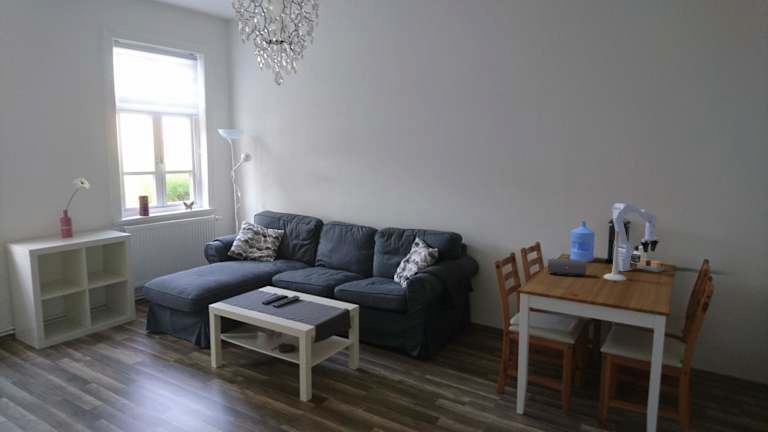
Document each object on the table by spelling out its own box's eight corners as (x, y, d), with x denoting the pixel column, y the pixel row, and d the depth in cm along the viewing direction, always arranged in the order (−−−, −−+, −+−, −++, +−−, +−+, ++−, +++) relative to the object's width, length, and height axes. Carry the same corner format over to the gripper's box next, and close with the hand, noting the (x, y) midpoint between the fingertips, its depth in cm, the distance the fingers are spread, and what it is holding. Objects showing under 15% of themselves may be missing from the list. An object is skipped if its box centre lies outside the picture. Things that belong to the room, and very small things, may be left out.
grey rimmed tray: (663, 270, 320) (664, 261, 319) (657, 272, 316) (657, 263, 316) (643, 266, 332) (643, 257, 331) (636, 267, 328) (637, 259, 328)
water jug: (577, 256, 366) (578, 219, 362) (597, 259, 354) (599, 221, 351) (566, 259, 356) (567, 221, 353) (586, 263, 344) (588, 223, 341)
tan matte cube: (660, 269, 320) (660, 261, 319) (656, 269, 318) (656, 262, 317) (653, 267, 324) (653, 260, 323) (649, 268, 322) (650, 261, 321)
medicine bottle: (630, 262, 345) (631, 245, 343) (637, 261, 348) (637, 244, 347) (639, 264, 339) (640, 247, 337) (646, 263, 342) (647, 246, 340)
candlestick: (629, 281, 295) (631, 231, 291) (606, 280, 298) (608, 231, 294) (623, 276, 308) (625, 228, 304) (601, 275, 310) (603, 228, 306)
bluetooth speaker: (547, 275, 312) (548, 259, 311) (547, 271, 321) (548, 256, 320) (586, 277, 305) (586, 261, 303) (585, 274, 313) (585, 258, 312)
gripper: (649, 233, 321) (647, 253, 323) (662, 231, 328) (661, 251, 329) (639, 232, 327) (638, 252, 329) (652, 230, 334) (651, 249, 336)
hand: (649, 251), depth 329 cm, fingers open, 7 cm apart
